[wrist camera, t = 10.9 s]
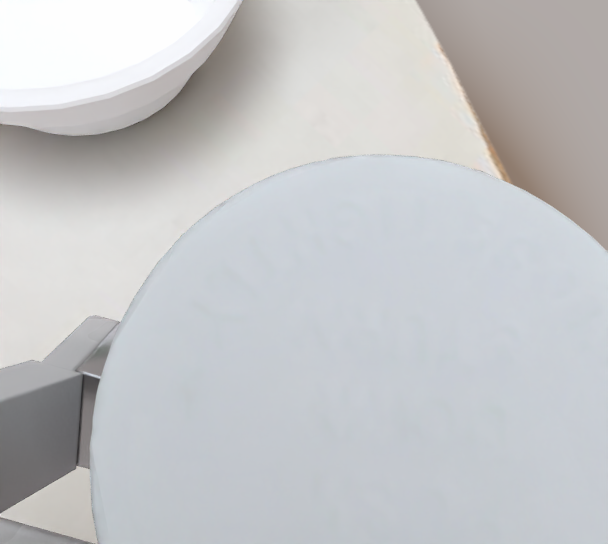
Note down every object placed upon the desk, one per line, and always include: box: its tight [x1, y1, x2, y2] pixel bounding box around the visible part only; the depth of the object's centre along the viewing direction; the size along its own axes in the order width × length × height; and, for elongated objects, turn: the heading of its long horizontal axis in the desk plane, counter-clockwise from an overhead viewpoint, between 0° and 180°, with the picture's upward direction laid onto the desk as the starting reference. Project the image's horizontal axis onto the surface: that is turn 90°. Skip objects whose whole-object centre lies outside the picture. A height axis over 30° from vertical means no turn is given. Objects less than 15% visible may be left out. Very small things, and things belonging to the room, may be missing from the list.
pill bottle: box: [90, 154, 608, 544], centre depth 10 cm, size 6×6×11 cm
